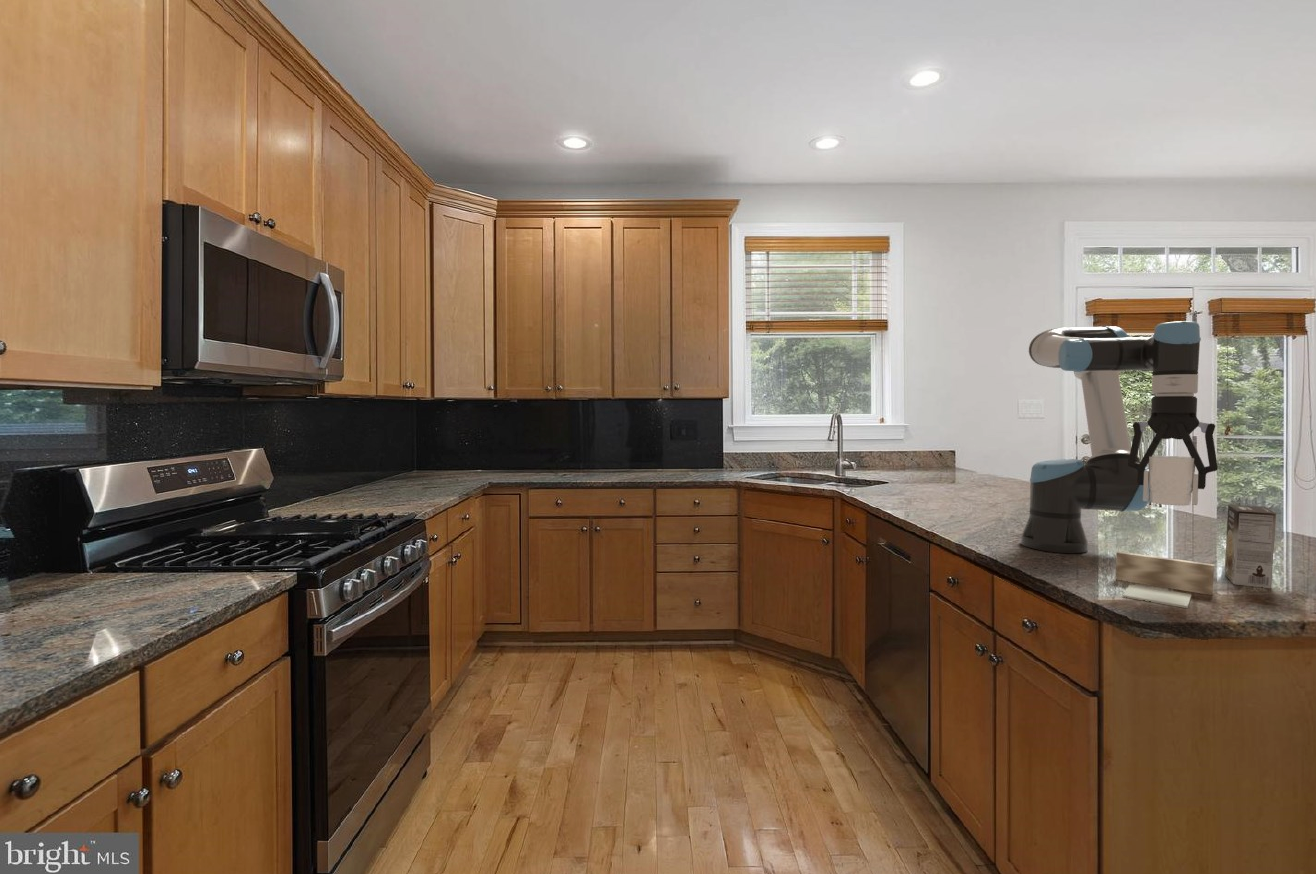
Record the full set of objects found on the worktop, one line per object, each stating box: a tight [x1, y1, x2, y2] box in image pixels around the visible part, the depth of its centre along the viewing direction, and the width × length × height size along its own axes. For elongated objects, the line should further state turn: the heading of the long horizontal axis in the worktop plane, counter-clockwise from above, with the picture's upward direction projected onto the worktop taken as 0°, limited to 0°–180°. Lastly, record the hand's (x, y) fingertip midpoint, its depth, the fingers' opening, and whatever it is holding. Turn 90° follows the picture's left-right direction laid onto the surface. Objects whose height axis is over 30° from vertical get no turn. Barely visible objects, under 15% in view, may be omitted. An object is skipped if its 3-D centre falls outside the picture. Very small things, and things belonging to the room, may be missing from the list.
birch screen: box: [1115, 551, 1215, 596], centre depth 133 cm, size 16×2×6 cm, turn 46°
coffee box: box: [1224, 504, 1277, 589], centre depth 136 cm, size 9×6×16 cm
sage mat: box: [1122, 583, 1193, 609], centre depth 126 cm, size 10×10×1 cm
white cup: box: [1148, 455, 1196, 507], centre depth 135 cm, size 8×8×10 cm
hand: (1169, 502), depth 135 cm, fingers closed on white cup, 7 cm apart
